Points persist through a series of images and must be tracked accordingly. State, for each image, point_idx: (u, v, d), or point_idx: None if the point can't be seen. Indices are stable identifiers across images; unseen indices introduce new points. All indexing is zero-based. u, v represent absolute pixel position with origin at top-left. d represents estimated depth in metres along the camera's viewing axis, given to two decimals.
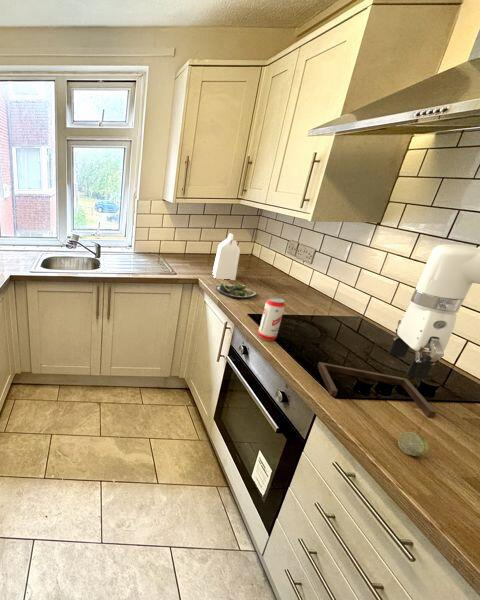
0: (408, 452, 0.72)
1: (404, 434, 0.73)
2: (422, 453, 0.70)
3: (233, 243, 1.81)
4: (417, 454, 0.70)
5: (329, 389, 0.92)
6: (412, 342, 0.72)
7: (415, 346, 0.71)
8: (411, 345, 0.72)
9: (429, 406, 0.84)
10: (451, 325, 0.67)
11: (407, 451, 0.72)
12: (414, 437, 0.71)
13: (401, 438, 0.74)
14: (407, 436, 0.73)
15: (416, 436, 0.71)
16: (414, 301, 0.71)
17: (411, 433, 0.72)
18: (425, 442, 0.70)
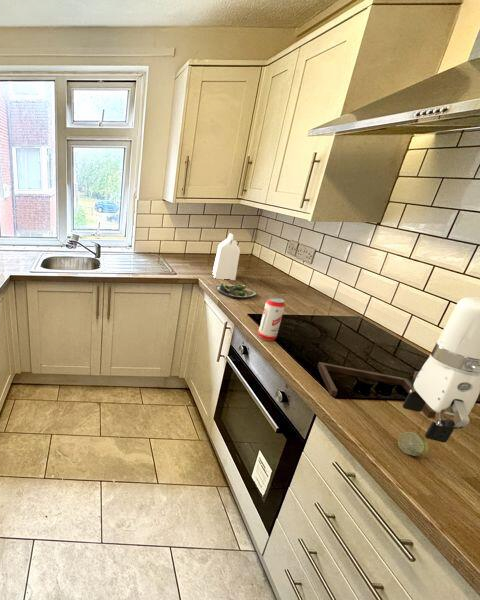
0: (408, 452, 0.72)
1: (404, 434, 0.73)
2: (422, 453, 0.70)
3: (233, 243, 1.81)
4: (417, 454, 0.70)
5: (329, 389, 0.92)
6: (432, 402, 0.65)
7: (436, 407, 0.64)
8: (431, 405, 0.65)
9: (429, 406, 0.84)
10: (477, 388, 0.60)
11: (407, 451, 0.72)
12: (414, 437, 0.71)
13: (401, 438, 0.74)
14: (407, 436, 0.73)
15: (416, 436, 0.71)
16: (435, 357, 0.64)
17: (411, 433, 0.72)
18: (425, 442, 0.70)
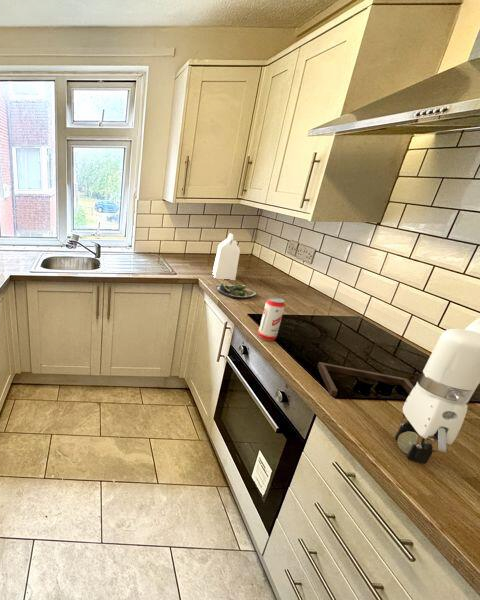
0: (407, 451, 0.72)
1: (404, 434, 0.73)
2: None
3: (233, 243, 1.81)
4: None
5: (329, 389, 0.92)
6: (419, 428, 0.68)
7: (422, 433, 0.67)
8: (418, 431, 0.68)
9: None
10: (461, 417, 0.63)
11: (406, 450, 0.72)
12: (414, 436, 0.72)
13: (401, 437, 0.74)
14: (407, 436, 0.73)
15: (416, 435, 0.71)
16: (421, 385, 0.67)
17: (411, 433, 0.72)
18: (424, 441, 0.70)
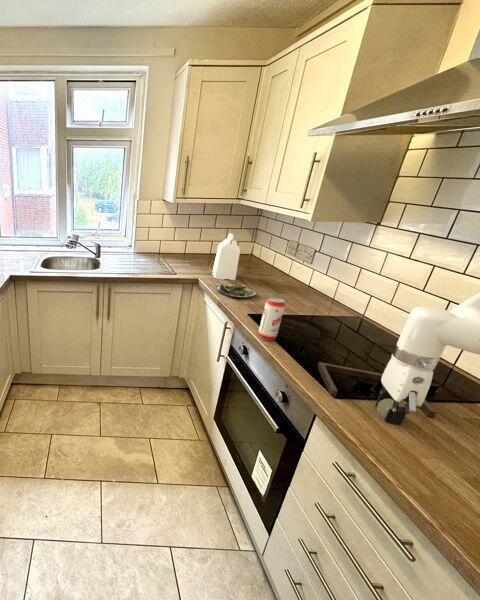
0: (385, 416, 0.82)
1: (382, 401, 0.84)
2: None
3: (233, 243, 1.81)
4: None
5: (329, 389, 0.92)
6: (394, 393, 0.78)
7: (396, 398, 0.77)
8: (393, 396, 0.78)
9: (429, 406, 0.84)
10: (428, 381, 0.73)
11: (384, 415, 0.82)
12: (390, 402, 0.82)
13: (380, 404, 0.84)
14: (385, 402, 0.83)
15: (392, 401, 0.82)
16: (395, 356, 0.77)
17: (388, 399, 0.83)
18: None
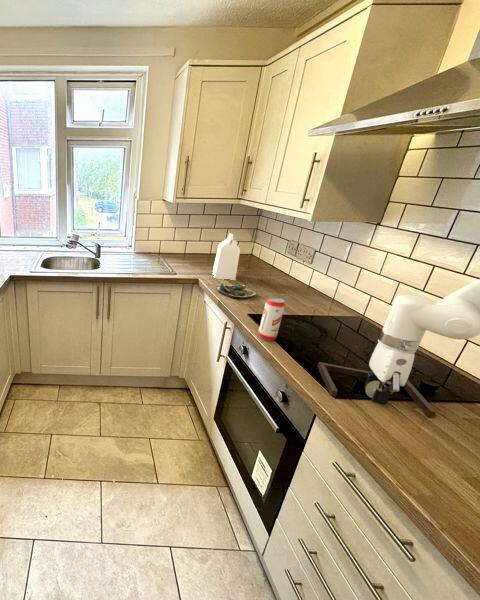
0: (372, 396, 0.89)
1: (370, 383, 0.91)
2: None
3: (233, 243, 1.81)
4: None
5: (329, 389, 0.92)
6: (380, 375, 0.85)
7: (382, 379, 0.84)
8: (379, 377, 0.86)
9: (429, 406, 0.84)
10: (410, 363, 0.80)
11: (372, 396, 0.90)
12: (377, 384, 0.89)
13: (368, 386, 0.91)
14: (372, 384, 0.90)
15: None
16: (381, 341, 0.84)
17: (375, 381, 0.90)
18: None
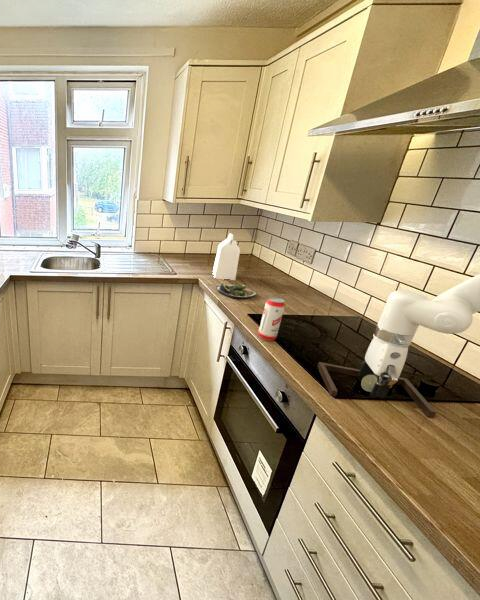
0: (368, 390, 0.92)
1: (366, 377, 0.94)
2: None
3: (233, 243, 1.81)
4: None
5: (329, 389, 0.92)
6: (375, 368, 0.88)
7: (377, 372, 0.87)
8: (374, 371, 0.88)
9: (429, 406, 0.84)
10: (404, 356, 0.83)
11: (367, 389, 0.92)
12: (372, 378, 0.92)
13: (363, 380, 0.94)
14: (368, 378, 0.93)
15: (374, 377, 0.92)
16: (376, 335, 0.87)
17: (370, 375, 0.93)
18: None
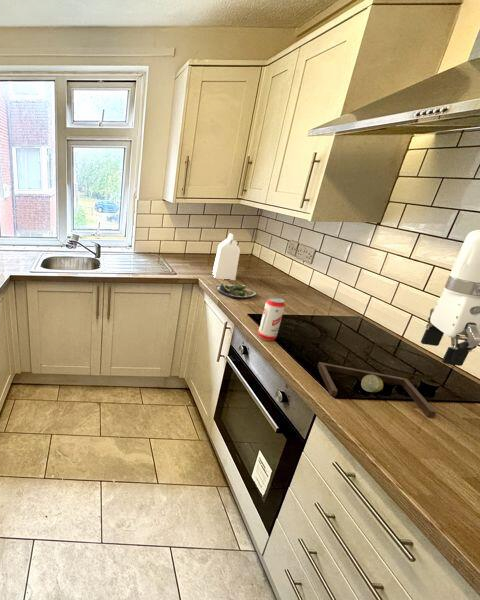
0: (368, 390, 0.92)
1: (366, 377, 0.94)
2: (378, 389, 0.90)
3: (233, 243, 1.81)
4: (374, 390, 0.91)
5: (329, 389, 0.92)
6: (447, 329, 0.71)
7: (451, 333, 0.70)
8: (446, 332, 0.72)
9: (429, 406, 0.84)
10: None
11: (367, 389, 0.92)
12: (372, 378, 0.92)
13: (363, 380, 0.94)
14: (368, 378, 0.93)
15: (374, 377, 0.92)
16: (448, 288, 0.71)
17: (370, 375, 0.93)
18: (380, 381, 0.90)
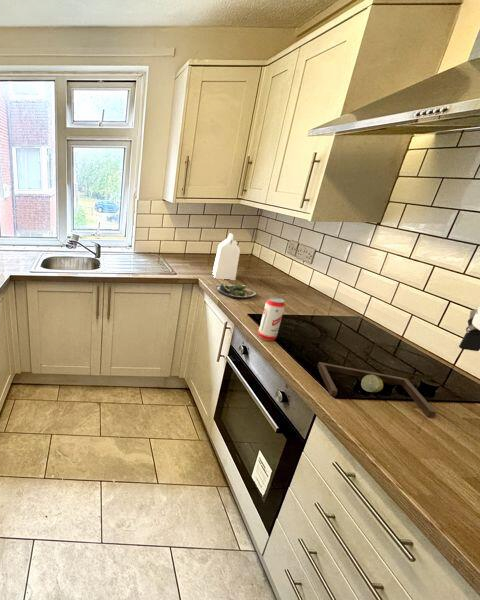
0: (368, 390, 0.92)
1: (366, 377, 0.94)
2: (378, 389, 0.90)
3: (233, 243, 1.81)
4: (374, 390, 0.91)
5: (329, 389, 0.92)
6: None
7: None
8: None
9: (429, 406, 0.84)
10: None
11: (367, 389, 0.92)
12: (372, 378, 0.92)
13: (363, 380, 0.94)
14: (368, 378, 0.93)
15: (374, 377, 0.92)
16: None
17: (370, 375, 0.93)
18: (380, 381, 0.90)
